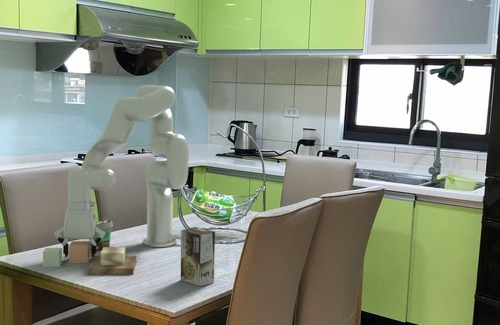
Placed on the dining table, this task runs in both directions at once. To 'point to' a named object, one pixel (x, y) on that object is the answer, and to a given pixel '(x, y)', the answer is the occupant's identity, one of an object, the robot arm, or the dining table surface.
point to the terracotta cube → (79, 252)
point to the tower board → (112, 266)
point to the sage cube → (52, 257)
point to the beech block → (113, 256)
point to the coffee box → (197, 256)
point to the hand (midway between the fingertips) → (79, 256)
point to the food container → (105, 241)
